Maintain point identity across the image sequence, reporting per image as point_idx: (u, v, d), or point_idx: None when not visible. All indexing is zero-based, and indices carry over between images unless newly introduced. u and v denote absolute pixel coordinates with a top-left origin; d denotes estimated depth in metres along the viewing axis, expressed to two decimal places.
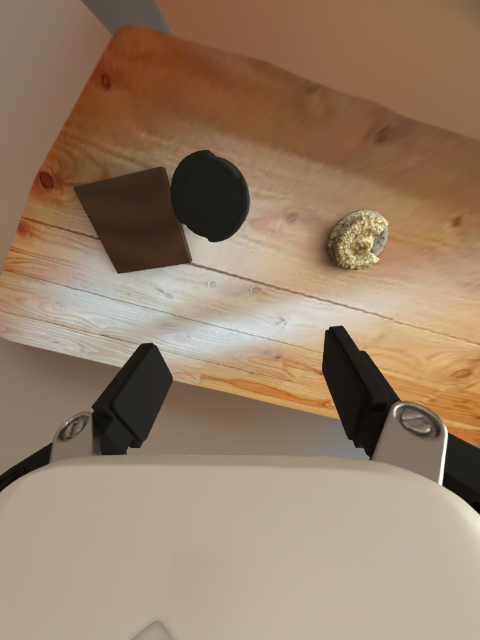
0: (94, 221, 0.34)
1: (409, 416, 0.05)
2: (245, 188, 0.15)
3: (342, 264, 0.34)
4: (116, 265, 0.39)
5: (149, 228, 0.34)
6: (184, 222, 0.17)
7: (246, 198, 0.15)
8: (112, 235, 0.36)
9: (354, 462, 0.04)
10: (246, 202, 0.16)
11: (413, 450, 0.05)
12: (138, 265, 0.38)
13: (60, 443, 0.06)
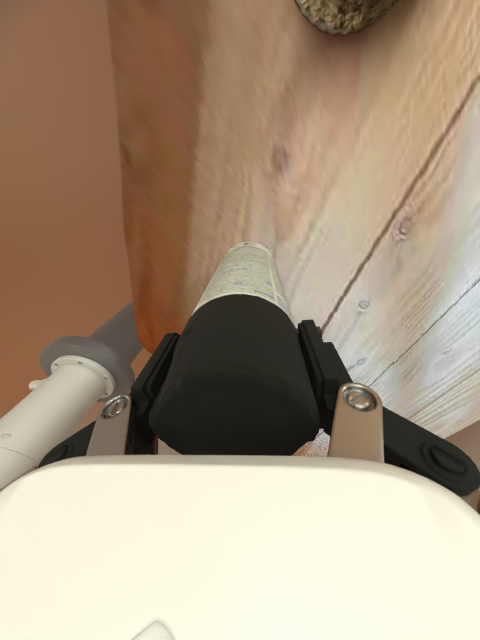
0: None
1: (353, 395, 0.06)
2: (199, 371, 0.06)
3: None
4: None
5: None
6: None
7: (221, 372, 0.05)
8: None
9: (353, 462, 0.04)
10: (231, 371, 0.05)
11: (350, 421, 0.06)
12: None
13: (105, 420, 0.07)
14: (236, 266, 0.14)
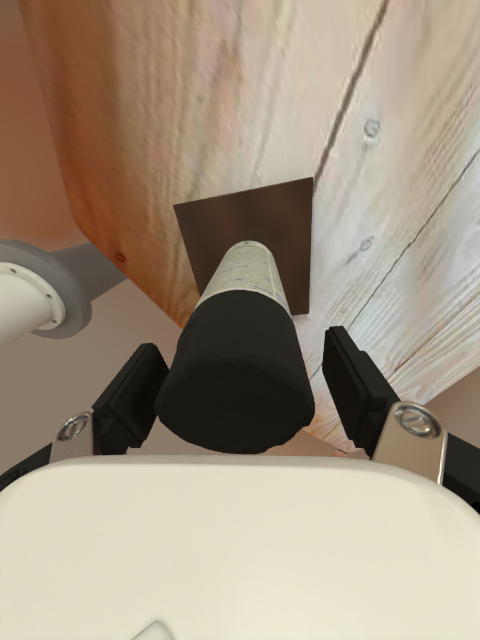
0: None
1: (409, 416, 0.05)
2: (202, 358, 0.06)
3: None
4: (296, 311, 0.27)
5: None
6: (267, 448, 0.09)
7: (222, 358, 0.06)
8: None
9: (354, 462, 0.04)
10: (231, 358, 0.06)
11: (413, 450, 0.05)
12: (302, 280, 0.25)
13: (60, 443, 0.06)
14: (236, 264, 0.14)
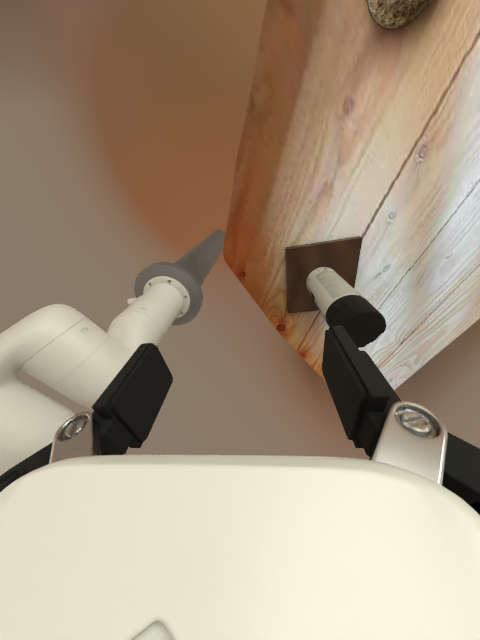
0: (309, 308, 0.48)
1: (409, 416, 0.05)
2: (361, 311, 0.25)
3: None
4: None
5: None
6: (366, 344, 0.28)
7: (367, 311, 0.25)
8: None
9: (353, 462, 0.04)
10: (369, 311, 0.25)
11: (413, 450, 0.05)
12: None
13: (60, 443, 0.06)
14: (337, 283, 0.33)
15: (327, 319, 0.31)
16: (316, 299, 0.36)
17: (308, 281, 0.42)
